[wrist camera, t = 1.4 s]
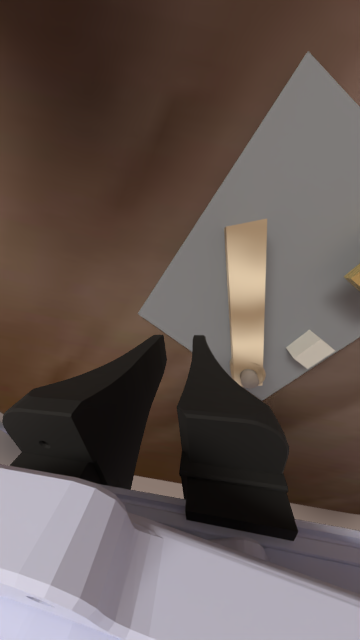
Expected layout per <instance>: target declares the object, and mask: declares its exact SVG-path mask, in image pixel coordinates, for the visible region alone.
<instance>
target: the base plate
mask: <svg viewBox="0 0 360 640" xmlns="http://www.w3.org/2000/svg"><path fill="white" fill-rule="evenodd" d="M262 219H267V246H266V280H265V315H264V350H263V368H264V370H265V373H266V377H265V379H264V381H263V385H262V386H257V387H255V388H246V387H243V388H245V389H246V390H247V391H249V392H250V393H252V394H253V395H255V396H256V397H257V398H259V399H260V400H264V399H265V398H267V397H268V396H270V395H272V394H273V393H275V392H276V391H278V390H279V389H281V388H282V387H284V386H285V385H287V384H288V383H290V382H291V381H293V380H294V379H296V378H298V377H299V376H301V375H302V374H304V373H305V372H307V371H308V370H310V369H311V368H313V367H314V366H316V365H317V364H319V363H320V362H322V361H324V360H325V359H327V358H328V357H330V356H331V355H333V354H334V353H336V352H337V351H339V350H340V349H342V348H343V347H345V346H346V345H348V344H350V343H351V342H353V341H354V340H356V339H357V338H359V337H360V291H359V290H357V289H356V288H355V287H354V286H353V285H352V284H351V283H350V282H348V281H347V280H346V279H345V278H344V276H345V275H346V274H347V273H349V272H350V271H351V270H352V269H353V268H355V267H356V266H357V265H358V264H359V263H360V107H359V106H358V105H357V104H356V103H355V101H354V100H353V99H352V98H351V97H350V96H349V95H348V94H347V93H346V92H345V91H344V90H343V88H342V87H341V86H340V85H339V84H338V83H337V82H336V81H335V80H334V79H333V78H332V76H331V75H330V74H329V73H328V72H327V71H326V70H325V69H324V68H323V67H322V66H321V64H320V63H319V62H318V61H317V60H316V59H315V58H314V57H313V56H312V55H311V54H310V53H309V51H308V52H307V53H306V55H305V56H304V58H303V60H302V61H301V63H300V64H299V66H298V67H297V69H296V70H295V72H294V73H293V75H292V77H291V78H290V80H289V81H288V83H287V84H286V86H285V87H284V89H283V90H282V92H281V93H280V95H279V97H278V98H277V100H276V101H275V103H274V104H273V106H272V107H271V109H270V110H269V112H268V114H267V115H266V117H265V118H264V120H263V121H262V123H261V124H260V126H259V127H258V129H257V131H256V132H255V134H254V135H253V137H252V138H251V140H250V141H249V143H248V144H247V146H246V147H245V149H244V151H243V152H242V154H241V155H240V157H239V158H238V160H237V161H236V163H235V164H234V166H233V168H232V169H231V171H230V172H229V174H228V175H227V177H226V178H225V180H224V181H223V183H222V185H221V186H220V188H219V189H218V191H217V192H216V194H215V195H214V197H213V198H212V200H211V201H210V203H209V205H208V206H207V208H206V209H205V211H204V212H203V214H202V215H201V217H200V218H199V220H198V222H197V223H196V225H195V226H194V228H193V229H192V231H191V232H190V234H189V235H188V237H187V238H186V240H185V242H184V243H183V245H182V246H181V248H180V249H179V251H178V252H177V254H176V255H175V257H174V259H173V260H172V262H171V263H170V265H169V266H168V268H167V269H166V271H165V272H164V274H163V276H162V277H161V279H160V280H159V282H158V283H157V285H156V286H155V288H154V289H153V291H152V292H151V294H150V296H149V297H148V299H147V300H146V302H145V303H144V305H143V306H142V308H141V309H140V311H139V313H138V314H139V315H140V316H142V317H143V318H145V319H146V320H147V321H149V322H150V323H152V324H153V325H155V326H156V327H157V328H159V329H160V330H162V331H163V332H165V333H166V334H167V335H169V336H170V337H172V338H173V339H175V340H176V341H177V342H179V343H180V344H182V345H183V346H185V347H186V348H187V349H189V350H190V351H192V344H193V337H194V335H204V336H205V337H206V342H207V344H208V346H209V348H210V350H211V352H212V354H213V355H214V357H215V358H216V360H217V361H218V363H219V364H220V365H221V367H222V368H223V369H224V370H225V371H226V372H227V373H228V375H229V376H230V377H231V378H232V376H231V371H230V365H229V363H230V359H231V358H232V356H231V339H230V321H229V304H228V287H227V270H226V252H225V235H224V228H225V227H227V226H232V225H237V224H242V223H247V222H252V221H257V220H262ZM308 330H311V331H312V332H313V333H314V334H316V335H317V336H318V337H319V338H321V339H322V340H323V341H324V342H325V343H327V344H328V345H329V346H330V347H331V348H333V349H334V350H335V351H334V352H333V353H331V354H330V355H328V356H327V357H325V358H324V359H322V360H321V361H319V362H318V363H316V364H315V365H313V366H312V367H310V368H309V369H307V368H306V367H304V366H303V365H302V364H300V363H299V362H298V361H296V360H295V359H294V358H293V357H292V355H291V354H290V353H289V351H288V350H287V349H286V347H287V346H289V345H290V344H291V343H292V342H294V341H295V340H296V339H298V338H299V337H300V336H302V335H303V334H304V333H306V332H307V331H308Z"/></svg>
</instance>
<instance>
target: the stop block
mask: <svg viewBox="0 0 360 640" xmlns="http://www.w3.org/2000/svg"><path fill="white" fill-rule="evenodd" d="M286 349H287V350H288V351H289V353H290V354H291V355H292V357H293V358H294V359H295V360H296V361H298V362H299V363H300V364H302V365H303V366H304V367H306V368H307V369H309V368H310V367H312V366H313V365H315V364H316V363H318V362H319V361H321V360H322V359H324V358H325V357H327V356H328V355H330V354H331V353H333V352H334V351H335V350H334V349H333V348H331V347H330V346H329V345H328V344H327V343H325V342H324V341H323V340H322V339H321V338H319V337H318V336H317V335H316V334H314V333H313V332H312V331H311V330H308V331H307V332H306V333H304V334H303V335H302V336H300V337H299V338H298V339H296V340H295V341H294V342H292V343H291V344H290V345H289V346H287V347H286Z"/></svg>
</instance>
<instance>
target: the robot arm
mask: <svg viewBox="0 0 360 640" xmlns="http://www.w3.org/2000/svg"><path fill="white" fill-rule="evenodd" d="M166 361H167V358H166V351H165V343H164V336H163V335H153V336H152V337H150V338H149V339H147V340H146V341H144V342H143V343H141V344H140V345H138V346H137V347H135V348H134V349H132V350H131V351H129V352H128V353H126V354H124V355H123V356H121V357H119V358H117V359H116V360H114V361H112V362H110V363H108V364H106V365H104V366H101V367H99V368H97V369H94V370H92V371H89V372H87V373H84V374H82V375H79V376H76V377H73V378H70V379H67V380H64V381H61V382H57V383H54V384H50V385H46V386H43V387H39V388H35V389H33V390H31V391H30V392H29V393H28V394H27V395H25V396H24V397H23V398H22V399H21V400H19V401H18V402H17V403H16V404H14V405H13V406H12V407H11V408H10V409H8V410H7V411H6V412H5V413H4V415H3V425H4V428H5V429H6V431H7V433H8V434H9V435H10V437H11V438H12V439H13V441H14V442H15V443H16V445H17V446H18V447H19V449H20V450H21V451H22V453H21V454H20V455H19V456H18V457H17V458H16V459H15V460H14V461H13V463H12V464H11V465H10V466H8V465H2V464H0V640H360V531H359V530H353V529H348V528H342V527H336V526H330V525H325V524H320V523H314V522H309V521H303V520H297V519H294V516H293V513H292V510H291V506H290V503H289V500H288V497H287V492H288V487H287V483H286V480H285V477H284V474H283V471H284V468H285V465H286V461H287V458H288V454H289V446H288V443H287V440H286V437H285V435H284V432H283V430H282V428H281V426H280V425H279V423H278V421H277V419H276V417H275V415H274V414H273V412H272V410H271V409H270V407H269V406H268V405H266V404H265V403H263V402H262V401H260V400H259V399H257V398H256V397H254V396H253V395H252V394H250V393H249V392H247V391H246V390H245V389H244V388H242V387H241V386H240V385H239V384H238V383H237V382H236V381H235V380H233V379H232V378H231V377H230V376H229V375H228V373H227V372H226V371H225V370H224V369H223V368H222V367H221V365H220V364H219V363H218V361H217V360H216V358H215V357H214V355H213V354H212V352H211V350H210V348H209V346H208V344H207V342H206V337H205V336H204V335H194V337H193V344H192V362H191V367H190V371H189V374H188V378H187V381H186V385H185V388H184V391H183V393H182V396H181V398H180V401H179V403H178V405H177V412H178V420H179V428H180V436H181V445H182V456H181V463H180V473H179V474H180V476H181V479H182V487H183V494H184V499H180V498H174V497H168V496H163V495H157V494H152V493H145V492H140V491H135V490H131V486H132V481H133V476H134V471H135V467H136V462H137V458H138V454H139V450H140V445H141V441H142V437H143V433H144V429H145V426H146V422H147V418H148V415H149V411H150V408H151V405H152V402H153V400H154V397H155V394H156V392H157V389H158V387H159V384H160V382H161V379H162V376H163V374H164V370H165V366H166Z"/></svg>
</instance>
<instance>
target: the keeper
mask: <svg viewBox="0 0 360 640" xmlns="http://www.w3.org/2000/svg"><path fill="white" fill-rule="evenodd" d="M344 278H345V279H346V280H347V281H348V282H350V283H351V284H352V285H353V286H354V287H355V288H356V289H357V290H359V291H360V263H359V264H358V265H357V266H356V267H355V268H353V269H352V270H351V271H350V272H349V273H347V274H346V275H345V276H344Z"/></svg>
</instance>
